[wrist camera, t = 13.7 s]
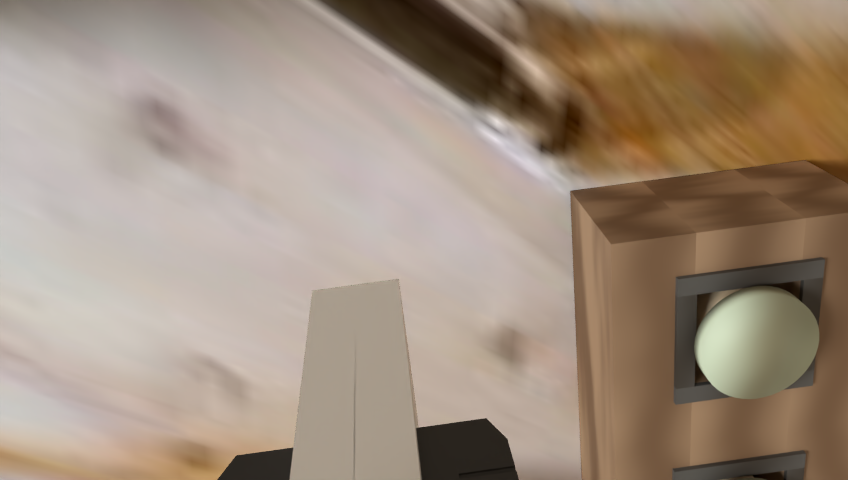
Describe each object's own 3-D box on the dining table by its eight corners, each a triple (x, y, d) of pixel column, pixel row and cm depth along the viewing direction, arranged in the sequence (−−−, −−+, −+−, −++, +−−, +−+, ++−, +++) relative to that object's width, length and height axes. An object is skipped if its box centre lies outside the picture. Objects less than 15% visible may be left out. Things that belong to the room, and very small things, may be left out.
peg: (647, 330, 48) (700, 406, 40) (647, 240, 45) (703, 303, 38) (744, 317, 48) (814, 390, 41) (749, 226, 46) (824, 287, 38)
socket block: (583, 512, 55) (619, 608, 47) (570, 191, 46) (612, 246, 38) (778, 484, 56) (845, 575, 48) (805, 160, 46) (893, 209, 39)
